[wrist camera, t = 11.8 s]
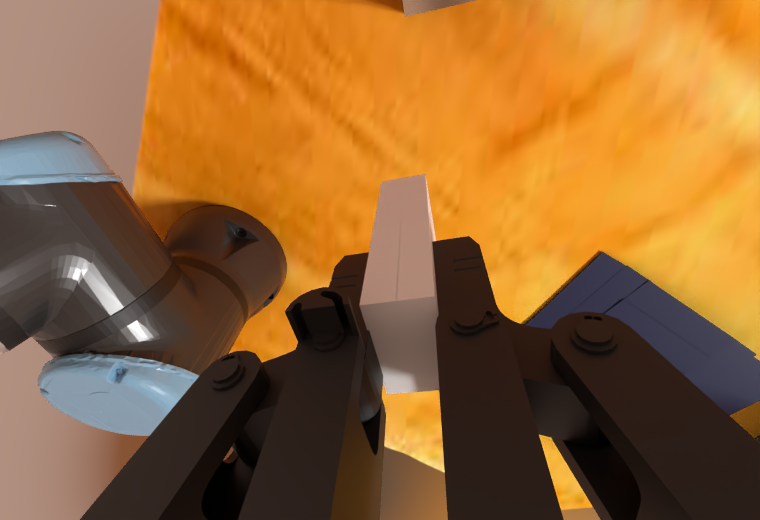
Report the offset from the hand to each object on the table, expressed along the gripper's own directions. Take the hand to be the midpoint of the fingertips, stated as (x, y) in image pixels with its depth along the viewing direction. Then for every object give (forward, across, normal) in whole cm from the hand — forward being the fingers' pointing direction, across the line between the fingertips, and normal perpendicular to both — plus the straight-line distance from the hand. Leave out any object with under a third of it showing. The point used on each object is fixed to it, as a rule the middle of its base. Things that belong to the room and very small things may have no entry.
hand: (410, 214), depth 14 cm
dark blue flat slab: (+28, +22, -40) cm, 53 cm away
